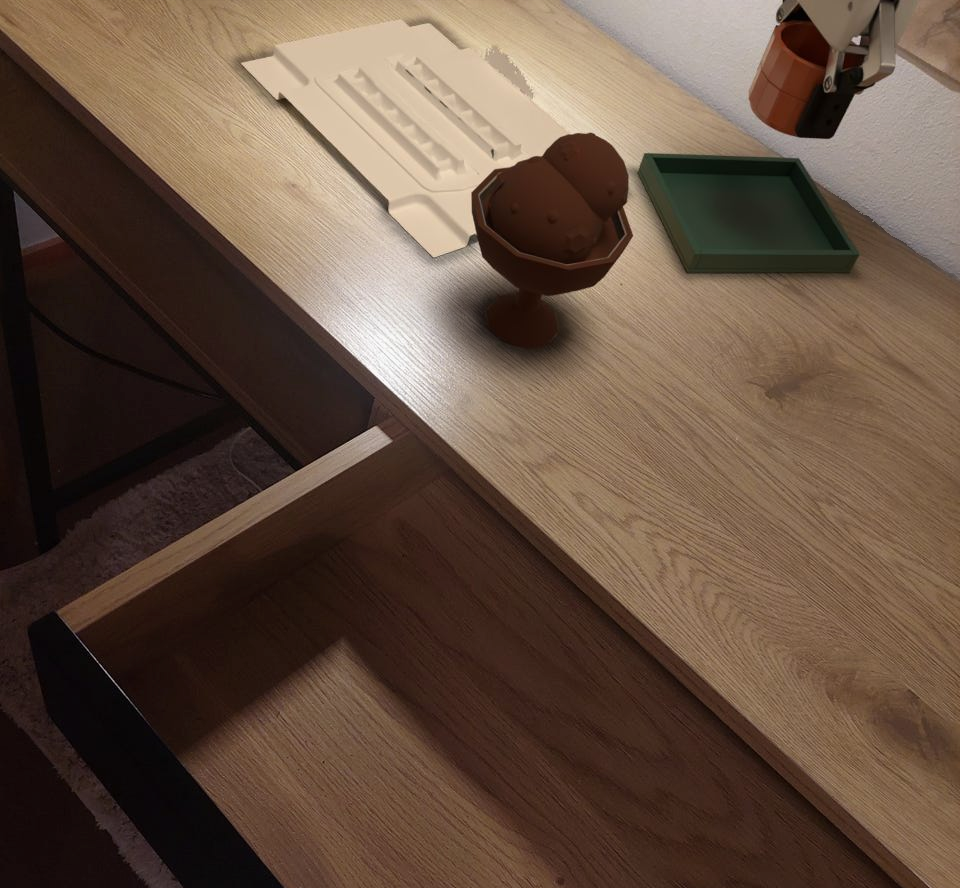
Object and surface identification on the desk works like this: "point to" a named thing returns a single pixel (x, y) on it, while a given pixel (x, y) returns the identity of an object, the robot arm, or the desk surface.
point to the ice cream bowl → (550, 230)
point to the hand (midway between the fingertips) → (793, 104)
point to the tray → (413, 117)
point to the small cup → (790, 74)
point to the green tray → (745, 214)
